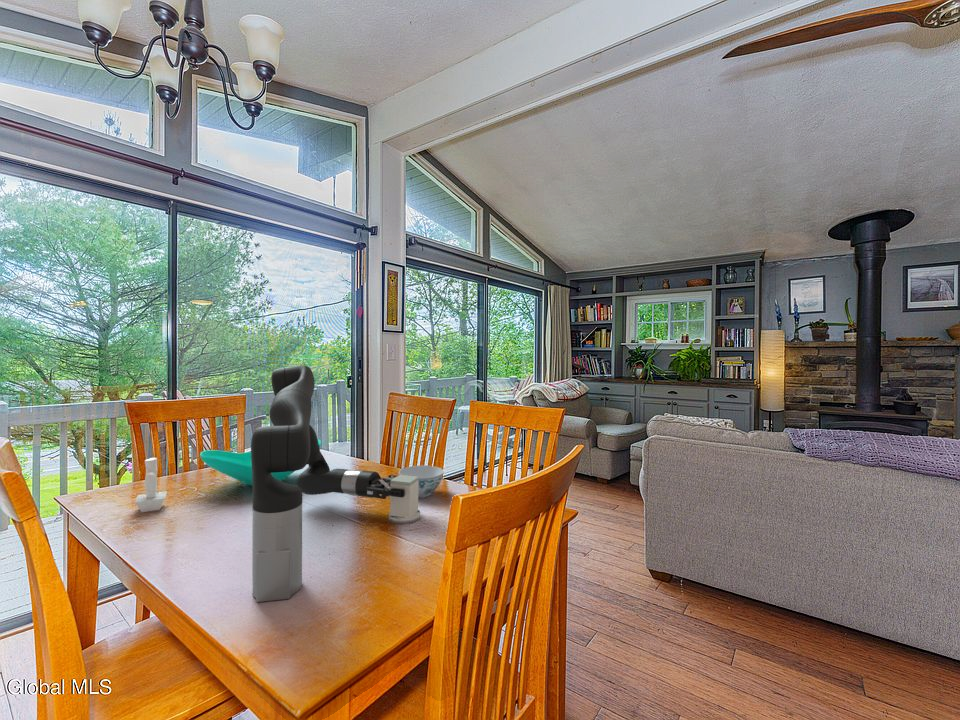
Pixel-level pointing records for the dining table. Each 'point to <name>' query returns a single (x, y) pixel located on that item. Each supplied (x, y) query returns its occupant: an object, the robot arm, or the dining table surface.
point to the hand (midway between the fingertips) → (410, 488)
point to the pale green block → (410, 500)
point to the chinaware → (424, 478)
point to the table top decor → (236, 465)
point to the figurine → (150, 489)
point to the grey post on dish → (404, 518)
